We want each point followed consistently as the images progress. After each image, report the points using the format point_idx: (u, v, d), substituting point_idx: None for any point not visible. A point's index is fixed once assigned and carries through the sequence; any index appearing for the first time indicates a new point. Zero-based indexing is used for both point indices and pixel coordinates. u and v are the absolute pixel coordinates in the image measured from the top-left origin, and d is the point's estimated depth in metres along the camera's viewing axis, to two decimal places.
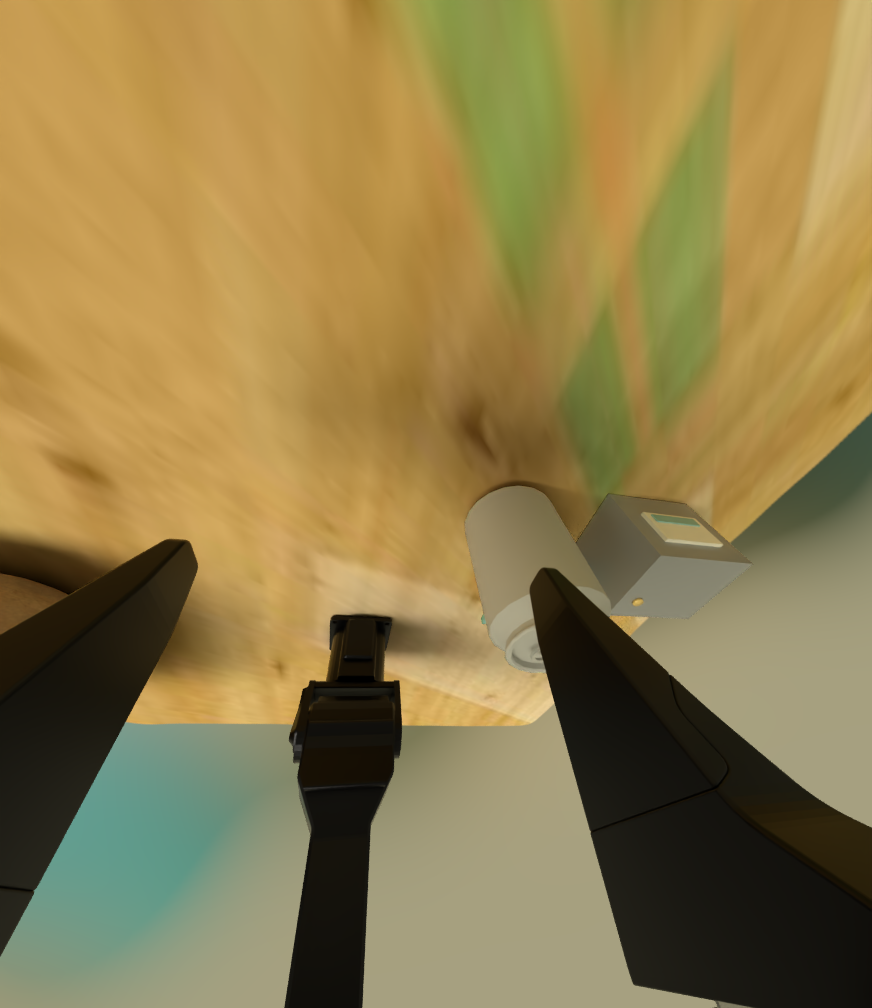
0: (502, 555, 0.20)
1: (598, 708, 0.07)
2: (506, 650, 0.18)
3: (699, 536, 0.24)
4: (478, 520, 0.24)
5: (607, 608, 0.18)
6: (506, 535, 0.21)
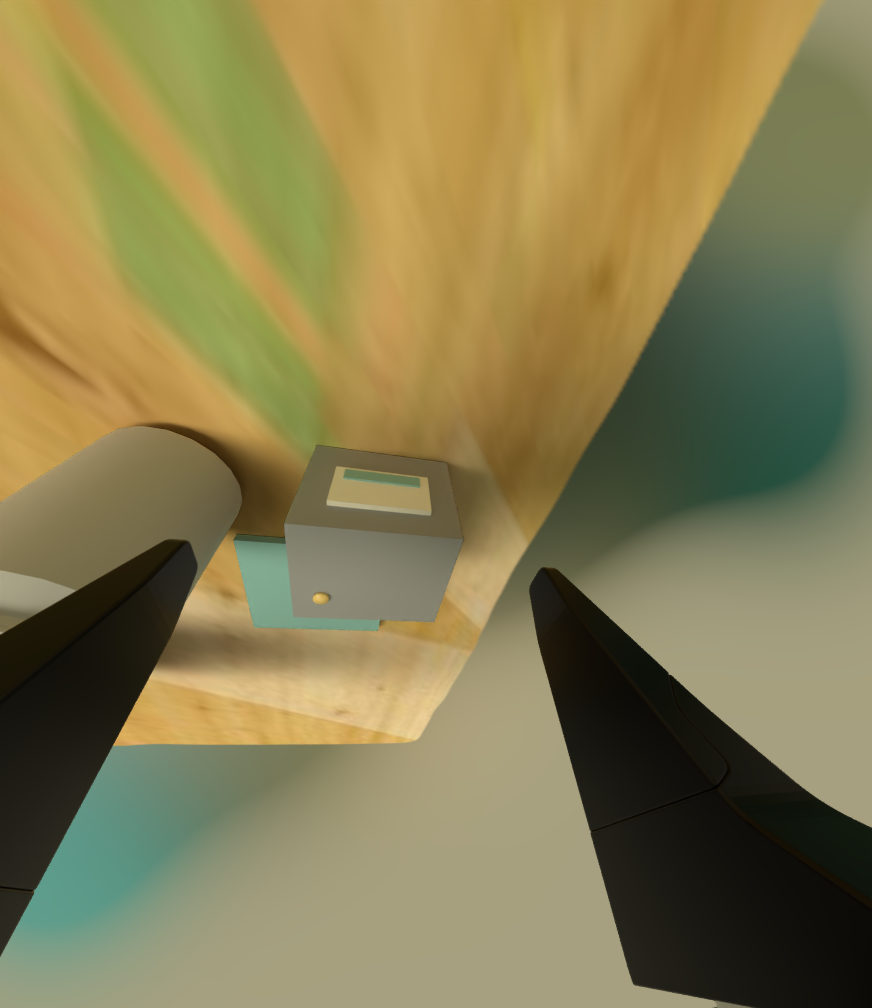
0: None
1: (598, 708, 0.07)
2: None
3: (399, 499, 0.16)
4: None
5: None
6: (18, 490, 0.13)
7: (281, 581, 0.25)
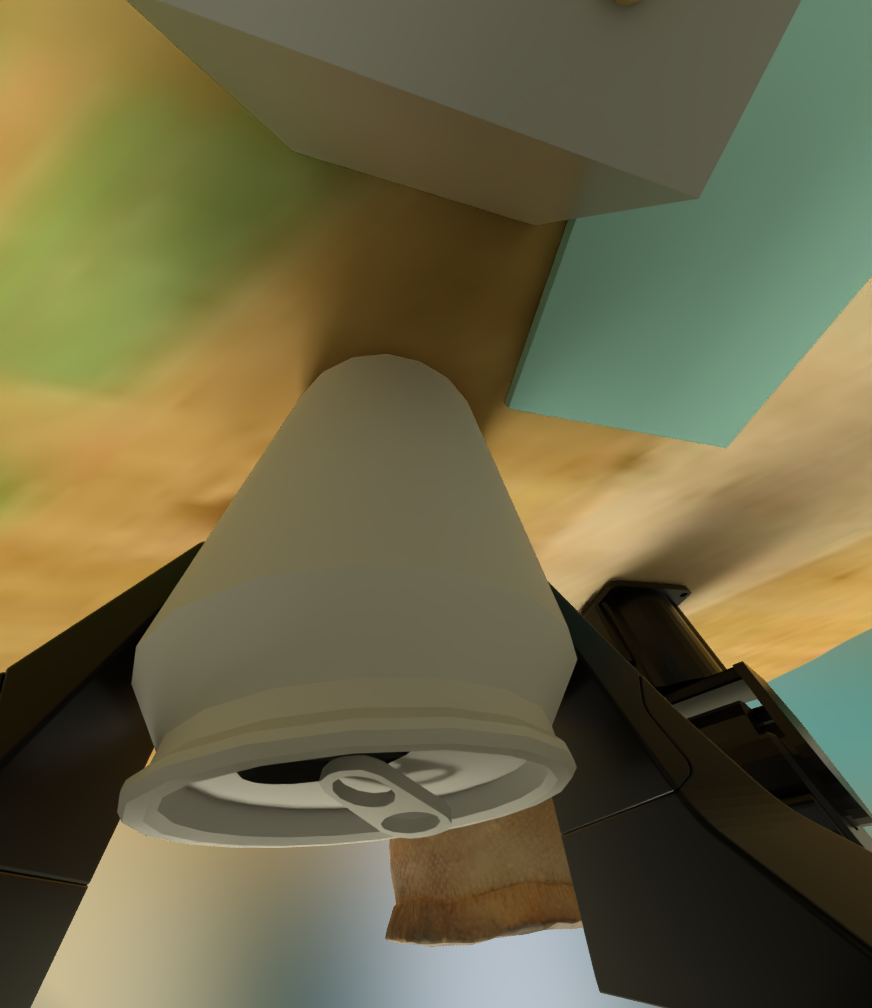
0: None
1: (568, 709, 0.07)
2: None
3: None
4: None
5: (186, 650, 0.04)
6: None
7: (639, 356, 0.12)
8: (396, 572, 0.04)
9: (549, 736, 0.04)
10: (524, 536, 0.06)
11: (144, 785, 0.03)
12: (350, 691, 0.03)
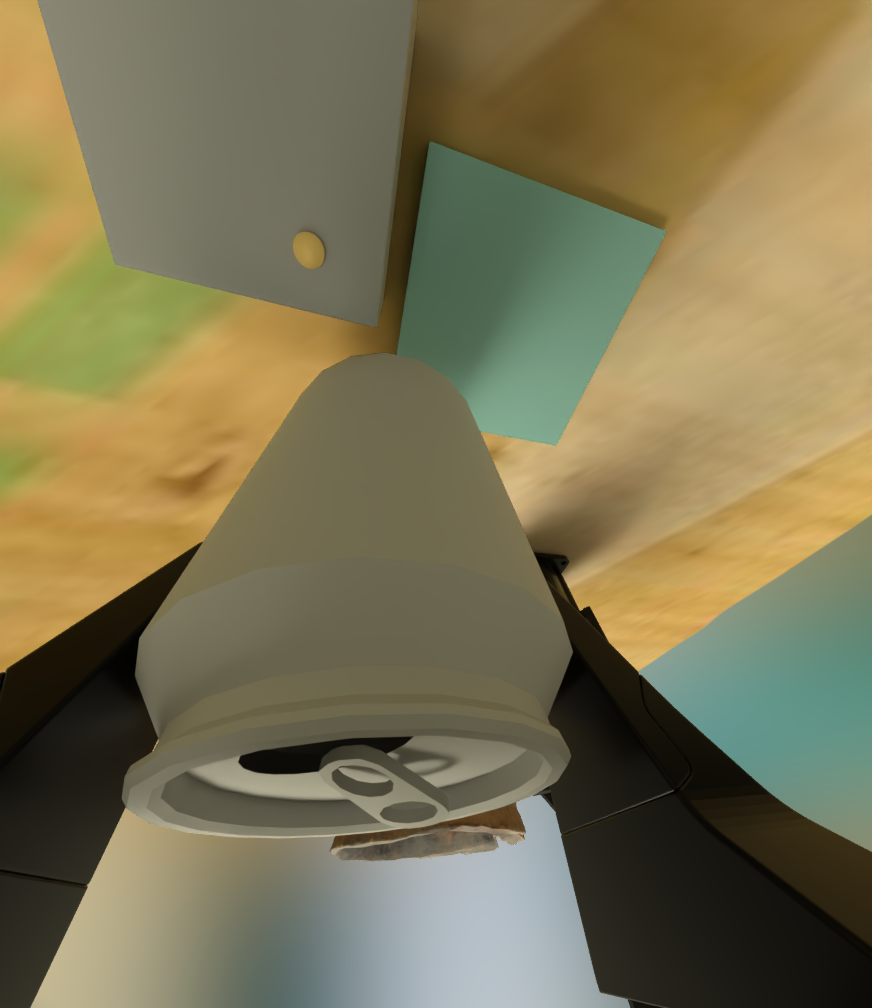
0: None
1: (568, 709, 0.07)
2: None
3: None
4: None
5: (189, 640, 0.04)
6: None
7: (471, 381, 0.18)
8: (392, 564, 0.04)
9: (543, 724, 0.04)
10: (520, 531, 0.06)
11: (148, 770, 0.03)
12: (347, 679, 0.03)
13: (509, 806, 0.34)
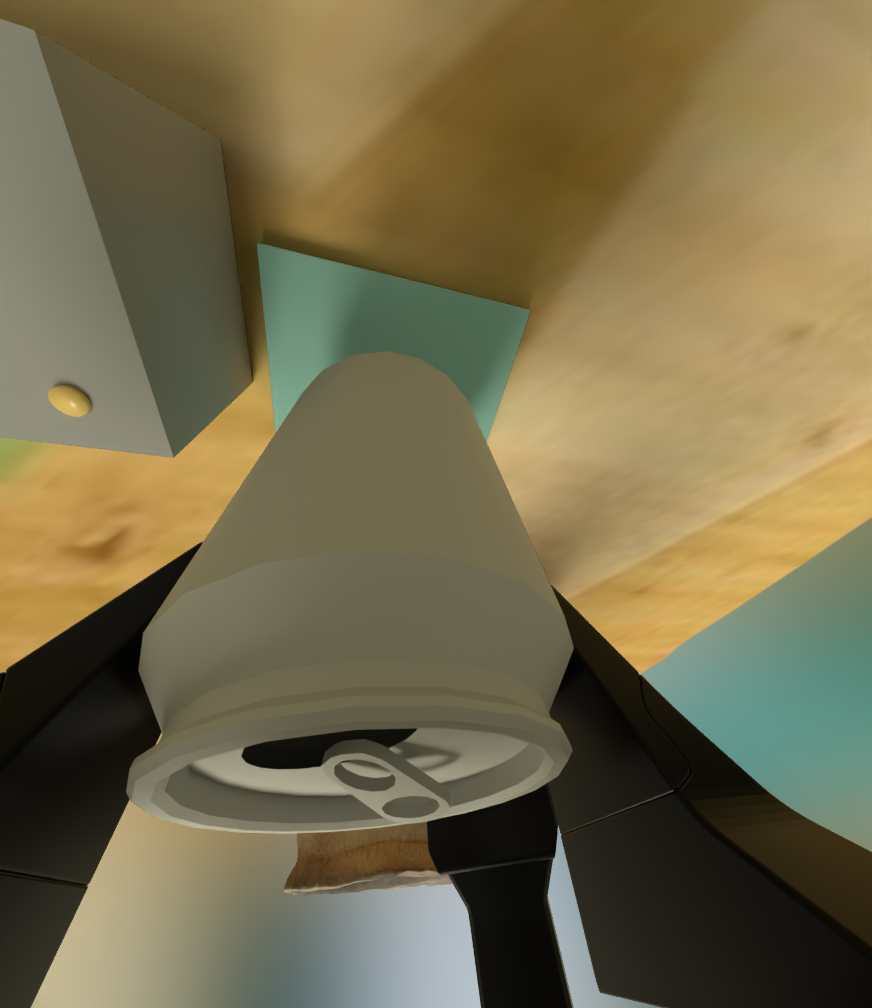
0: None
1: (568, 709, 0.07)
2: None
3: None
4: None
5: (192, 635, 0.04)
6: None
7: None
8: (394, 559, 0.04)
9: (544, 718, 0.04)
10: (521, 528, 0.06)
11: (153, 762, 0.03)
12: (350, 673, 0.03)
13: None
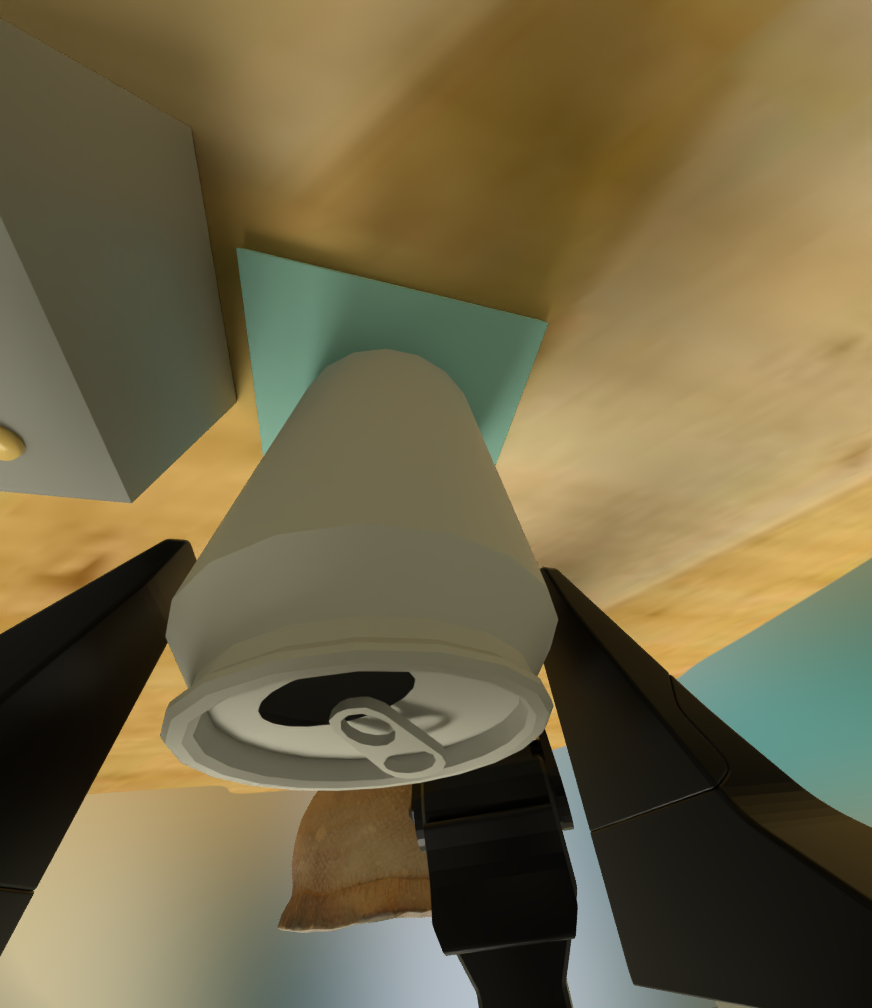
0: None
1: (598, 708, 0.07)
2: None
3: None
4: None
5: (217, 597, 0.04)
6: None
7: None
8: (392, 530, 0.04)
9: (525, 670, 0.05)
10: (511, 511, 0.07)
11: (187, 701, 0.04)
12: (354, 626, 0.04)
13: None
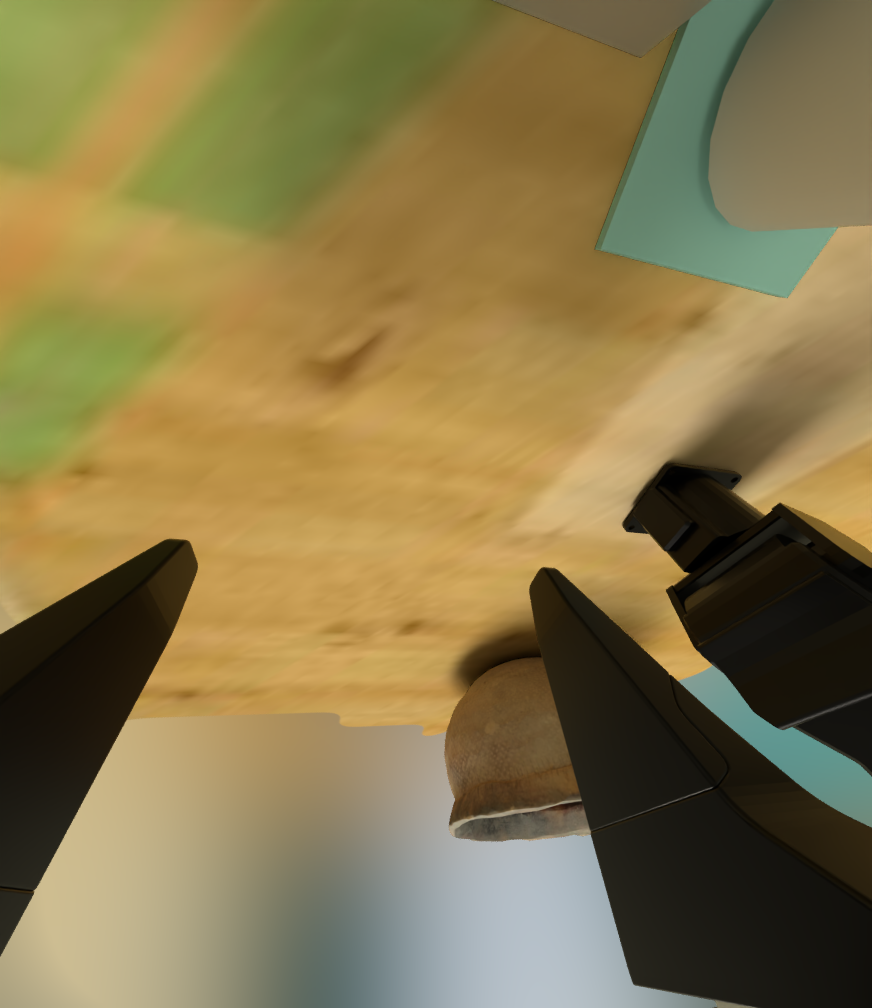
0: None
1: (598, 708, 0.07)
2: None
3: None
4: (758, 208, 0.12)
5: None
6: (831, 146, 0.09)
7: None
8: None
9: None
10: None
11: None
12: None
13: None
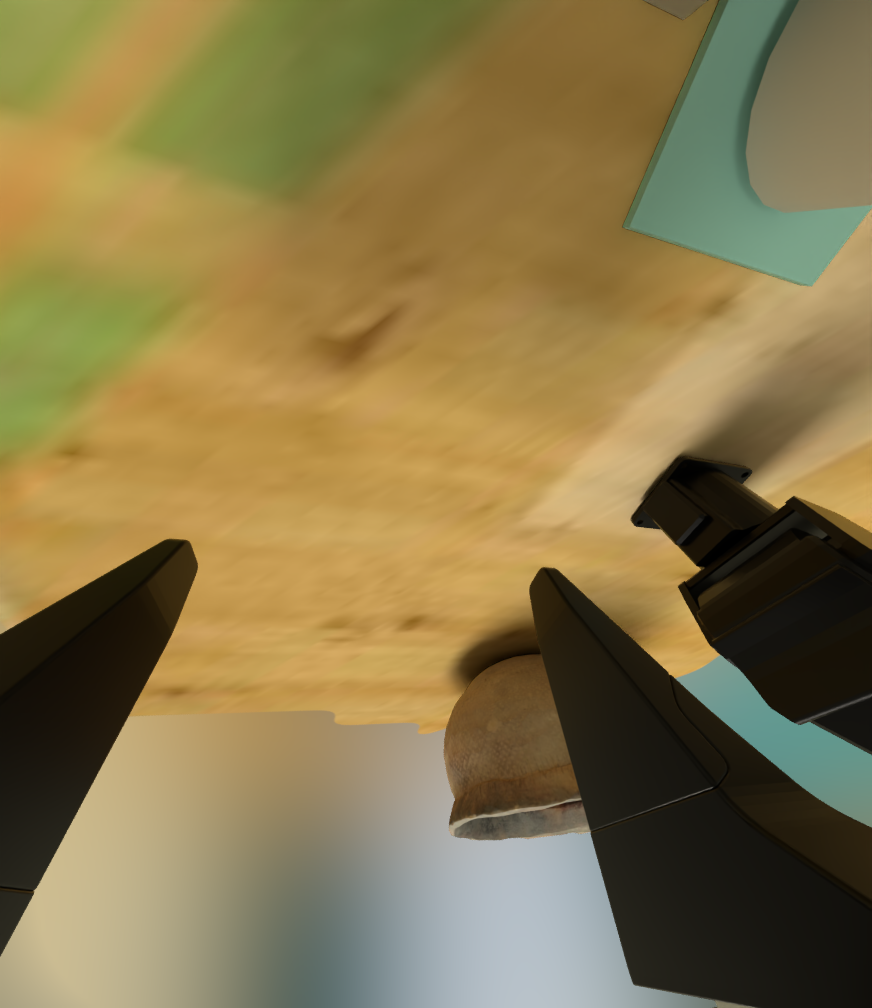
0: None
1: (598, 708, 0.07)
2: None
3: None
4: (798, 185, 0.12)
5: None
6: None
7: None
8: None
9: None
10: None
11: None
12: None
13: None
